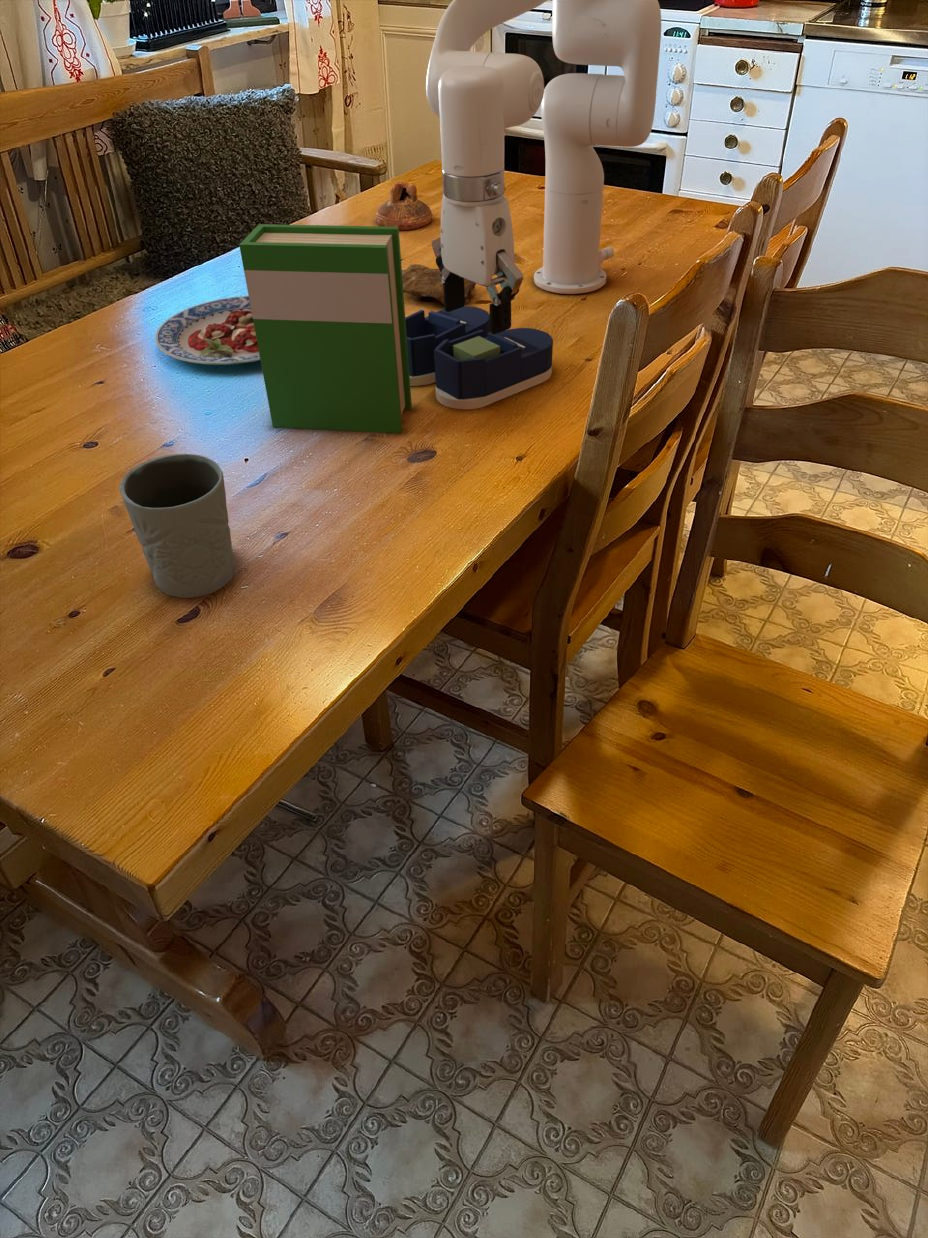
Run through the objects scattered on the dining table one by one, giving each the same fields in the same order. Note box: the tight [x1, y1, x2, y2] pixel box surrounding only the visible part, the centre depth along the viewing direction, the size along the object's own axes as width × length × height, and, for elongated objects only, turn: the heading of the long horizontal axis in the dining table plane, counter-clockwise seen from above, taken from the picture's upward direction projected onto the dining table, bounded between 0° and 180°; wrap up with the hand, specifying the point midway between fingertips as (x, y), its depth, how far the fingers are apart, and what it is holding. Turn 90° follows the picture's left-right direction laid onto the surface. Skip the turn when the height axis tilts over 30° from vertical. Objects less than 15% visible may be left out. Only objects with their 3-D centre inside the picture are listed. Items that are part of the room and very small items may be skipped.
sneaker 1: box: [405, 305, 490, 387], centre depth 135 cm, size 19×9×7 cm, turn 139°
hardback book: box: [238, 223, 413, 434], centre depth 117 cm, size 18×7×24 cm, turn 81°
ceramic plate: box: [154, 295, 261, 365], centre depth 144 cm, size 26×26×3 cm
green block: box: [453, 336, 500, 360], centre depth 127 cm, size 5×5×5 cm
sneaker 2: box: [434, 327, 554, 411], centre depth 129 cm, size 19×9×7 cm, turn 128°
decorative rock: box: [402, 263, 477, 305], centre depth 156 cm, size 11×4×15 cm
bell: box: [374, 181, 433, 231], centre depth 185 cm, size 12×12×7 cm
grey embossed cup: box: [119, 453, 236, 599], centre depth 95 cm, size 10×10×12 cm
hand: (477, 319), depth 123 cm, fingers open, 9 cm apart
